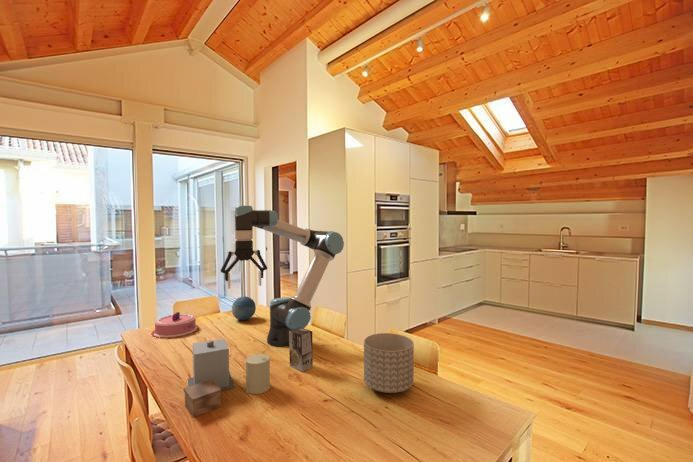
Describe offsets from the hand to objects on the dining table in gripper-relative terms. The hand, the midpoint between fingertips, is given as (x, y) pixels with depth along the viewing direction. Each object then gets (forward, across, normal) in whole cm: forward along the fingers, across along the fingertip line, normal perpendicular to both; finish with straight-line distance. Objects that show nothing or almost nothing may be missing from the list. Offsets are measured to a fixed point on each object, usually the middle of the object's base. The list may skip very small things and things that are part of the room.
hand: (244, 286), depth 151 cm
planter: (+35, -45, +49) cm, 75 cm away
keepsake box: (+35, +20, +30) cm, 50 cm away
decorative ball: (+35, -11, -66) cm, 75 cm away
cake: (+35, +28, -63) cm, 77 cm away
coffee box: (+35, -21, +16) cm, 44 cm away
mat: (+35, +16, +14) cm, 41 cm away
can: (+35, 0, +26) cm, 44 cm away
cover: (+34, +16, +14) cm, 40 cm away
